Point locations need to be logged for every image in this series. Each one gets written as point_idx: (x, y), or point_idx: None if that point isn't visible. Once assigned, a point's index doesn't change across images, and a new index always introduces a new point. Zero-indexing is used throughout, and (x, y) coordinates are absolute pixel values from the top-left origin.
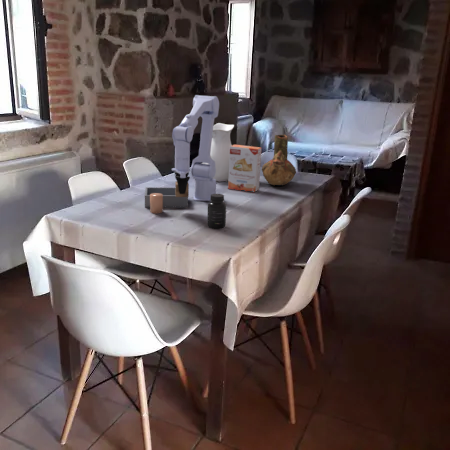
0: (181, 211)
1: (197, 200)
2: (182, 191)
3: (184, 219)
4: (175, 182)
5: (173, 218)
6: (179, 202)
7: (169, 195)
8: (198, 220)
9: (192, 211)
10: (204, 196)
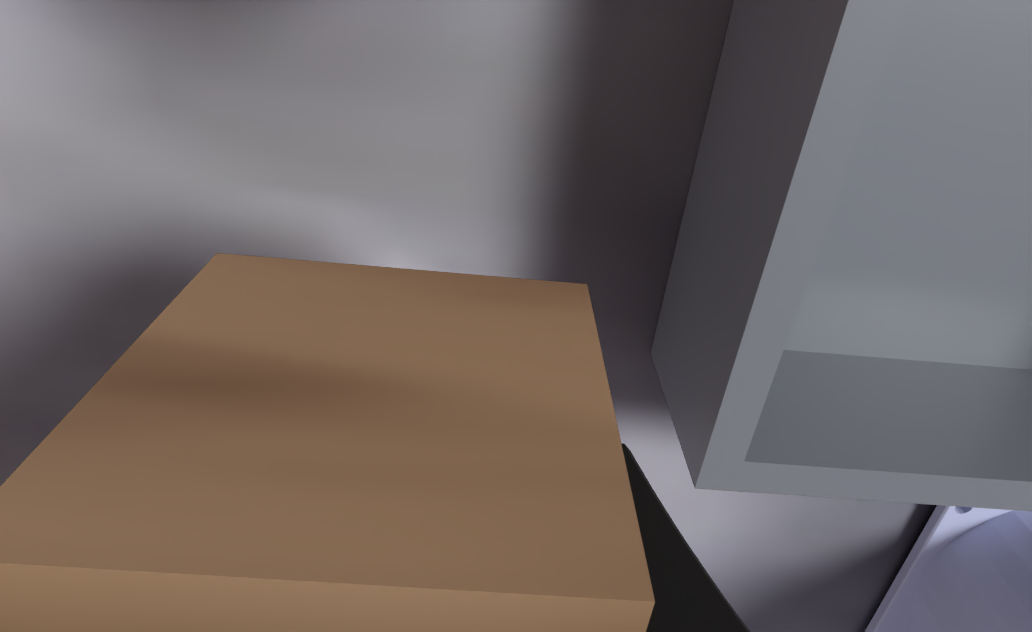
0: (454, 236)
1: (935, 509)
2: None
3: (22, 226)
4: (541, 572)
5: (30, 48)
6: (700, 272)
7: (845, 111)
8: (28, 398)
9: None
10: (939, 621)
